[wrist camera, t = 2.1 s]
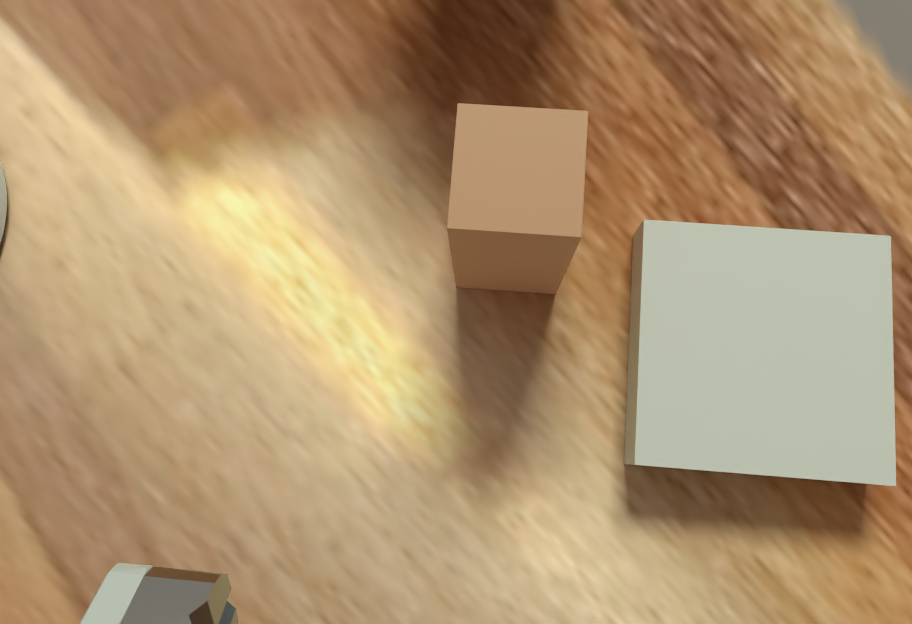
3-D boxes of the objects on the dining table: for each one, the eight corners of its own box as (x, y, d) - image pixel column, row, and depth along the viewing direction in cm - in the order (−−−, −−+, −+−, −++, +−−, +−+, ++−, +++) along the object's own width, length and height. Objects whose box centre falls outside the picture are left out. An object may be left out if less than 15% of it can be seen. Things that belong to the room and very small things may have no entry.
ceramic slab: (867, 483, 35) (896, 486, 33) (624, 464, 36) (634, 464, 33) (863, 250, 37) (890, 235, 35) (633, 234, 38) (643, 219, 35)
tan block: (555, 294, 37) (581, 237, 27) (456, 287, 37) (447, 227, 28) (560, 199, 38) (588, 110, 28) (464, 193, 38) (457, 102, 28)
